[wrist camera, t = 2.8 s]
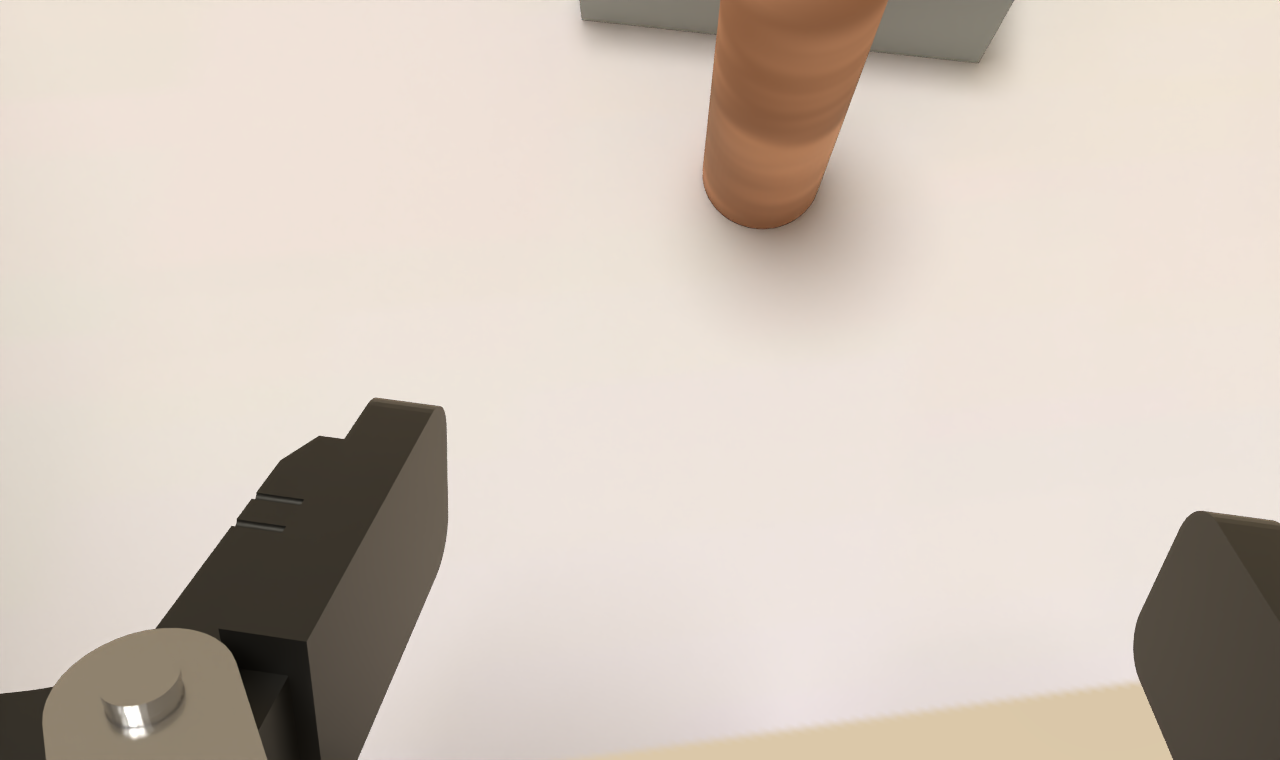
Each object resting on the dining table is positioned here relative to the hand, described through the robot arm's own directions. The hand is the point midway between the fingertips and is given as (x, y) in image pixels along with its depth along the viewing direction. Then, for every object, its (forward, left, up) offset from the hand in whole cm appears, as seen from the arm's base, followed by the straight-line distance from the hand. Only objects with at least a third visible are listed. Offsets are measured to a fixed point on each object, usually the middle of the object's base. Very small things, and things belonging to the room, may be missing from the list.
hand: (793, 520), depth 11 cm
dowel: (-9, +8, -15) cm, 19 cm away
